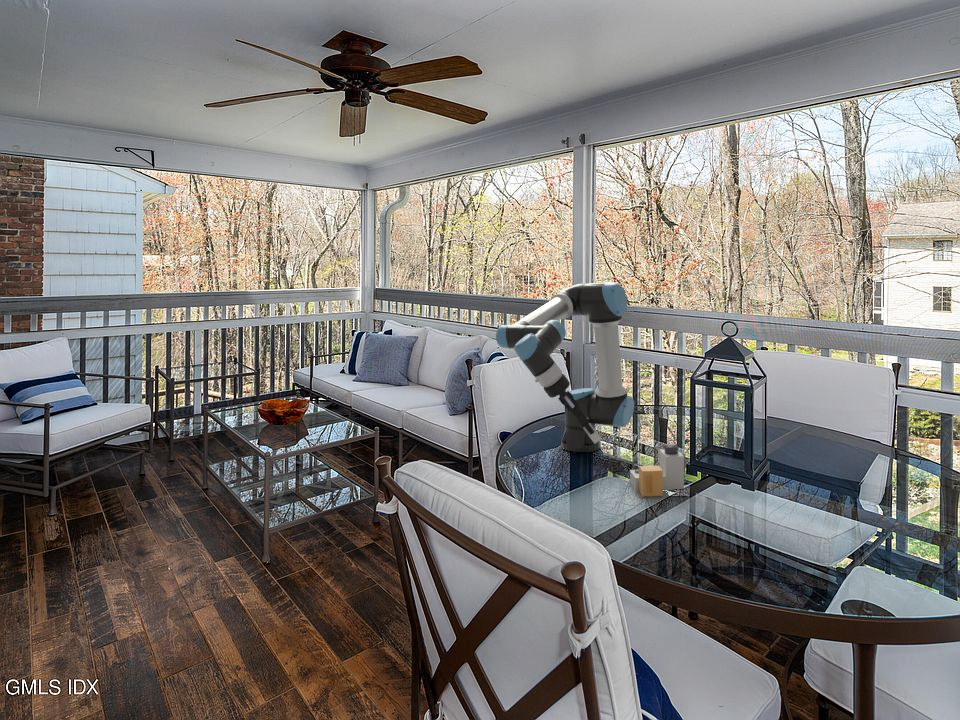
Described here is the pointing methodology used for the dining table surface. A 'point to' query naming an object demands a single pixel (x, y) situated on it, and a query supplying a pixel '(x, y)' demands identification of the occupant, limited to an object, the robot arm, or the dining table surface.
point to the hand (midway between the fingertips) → (597, 440)
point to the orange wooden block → (650, 481)
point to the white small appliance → (665, 471)
